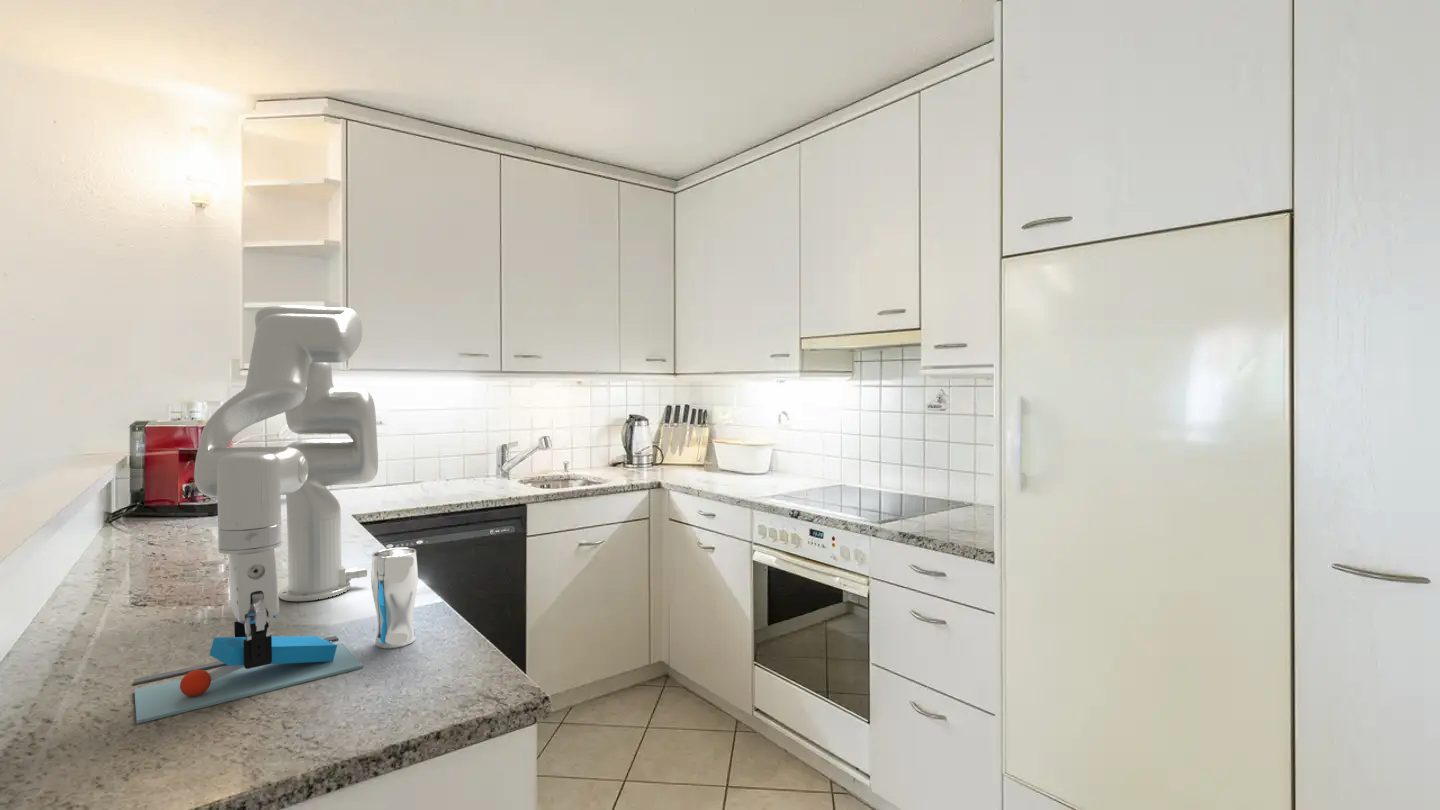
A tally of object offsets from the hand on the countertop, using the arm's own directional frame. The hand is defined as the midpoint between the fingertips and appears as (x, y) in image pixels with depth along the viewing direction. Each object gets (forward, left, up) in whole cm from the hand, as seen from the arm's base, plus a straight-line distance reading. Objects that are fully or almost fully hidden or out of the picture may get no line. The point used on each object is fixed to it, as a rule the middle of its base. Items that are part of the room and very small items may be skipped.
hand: (252, 655), depth 99 cm
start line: (0, -10, -4) cm, 11 cm away
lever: (-1, 0, -3) cm, 3 cm away
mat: (0, 0, -4) cm, 4 cm away
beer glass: (-20, -2, -4) cm, 20 cm away
